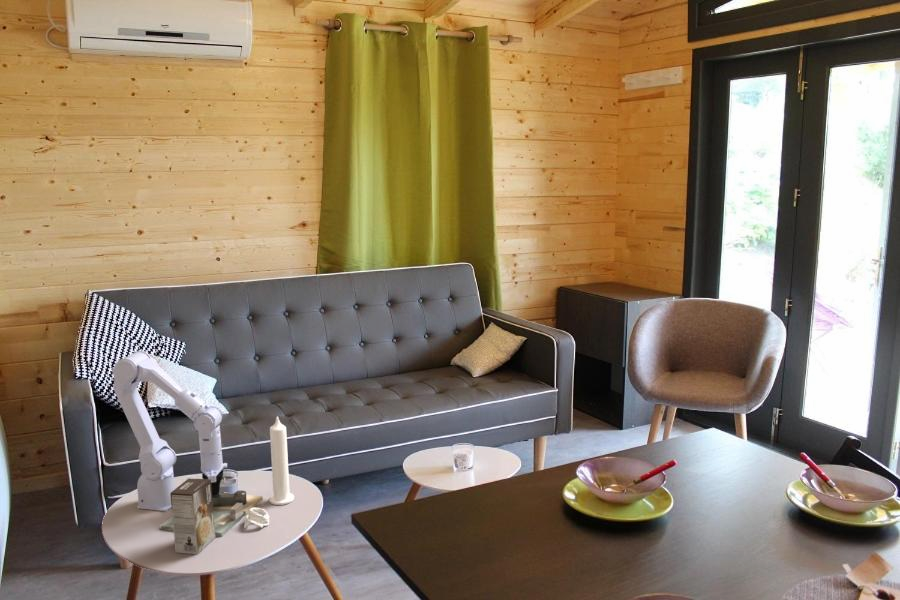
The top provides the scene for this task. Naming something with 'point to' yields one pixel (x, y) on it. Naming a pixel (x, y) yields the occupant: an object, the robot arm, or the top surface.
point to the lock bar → (229, 498)
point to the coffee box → (192, 515)
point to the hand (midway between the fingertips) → (214, 496)
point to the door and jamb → (225, 515)
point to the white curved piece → (256, 518)
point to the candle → (279, 465)
